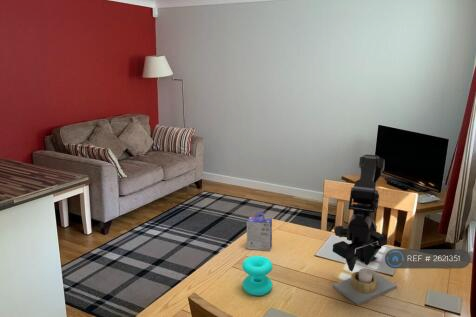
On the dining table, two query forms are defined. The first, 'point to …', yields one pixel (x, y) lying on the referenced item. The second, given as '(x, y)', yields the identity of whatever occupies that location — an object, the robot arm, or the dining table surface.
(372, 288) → the ring
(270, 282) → the donuts
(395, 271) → the dining table surface
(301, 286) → the dining table surface
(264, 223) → the ink cartridge box
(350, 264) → the robot arm
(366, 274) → the post plate
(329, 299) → the dining table surface
